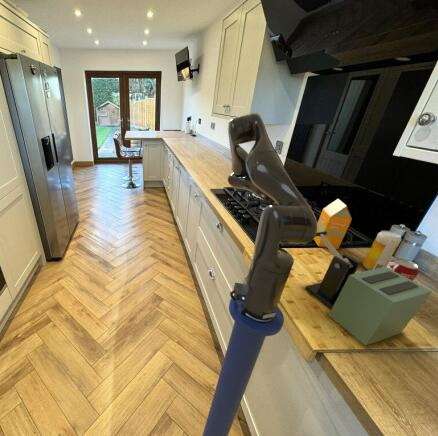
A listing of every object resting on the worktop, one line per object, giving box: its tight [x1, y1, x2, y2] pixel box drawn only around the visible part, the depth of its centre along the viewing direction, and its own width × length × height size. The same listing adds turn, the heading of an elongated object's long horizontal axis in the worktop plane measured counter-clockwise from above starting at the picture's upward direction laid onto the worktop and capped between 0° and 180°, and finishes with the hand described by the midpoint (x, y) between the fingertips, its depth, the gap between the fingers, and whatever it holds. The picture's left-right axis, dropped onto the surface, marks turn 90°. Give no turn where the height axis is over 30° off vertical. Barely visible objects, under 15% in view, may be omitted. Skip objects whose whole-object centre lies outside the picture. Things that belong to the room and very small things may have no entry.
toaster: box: [328, 267, 433, 347], centre depth 63 cm, size 10×14×15 cm
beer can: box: [362, 230, 402, 271], centre depth 87 cm, size 6×6×15 cm
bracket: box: [305, 253, 362, 310], centre depth 72 cm, size 10×8×15 cm
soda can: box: [386, 257, 419, 281], centre depth 76 cm, size 7×7×12 cm
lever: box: [315, 231, 353, 269], centre depth 72 cm, size 13×5×2 cm, turn 17°
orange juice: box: [313, 198, 353, 250], centre depth 102 cm, size 8×9×20 cm
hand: (297, 203), depth 82 cm, fingers open, 8 cm apart
